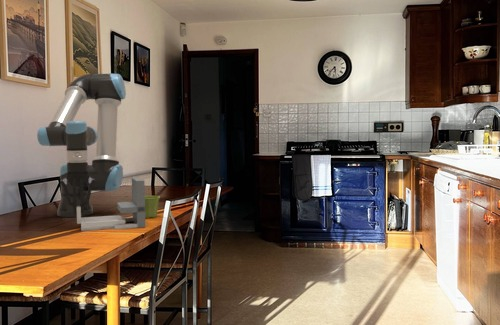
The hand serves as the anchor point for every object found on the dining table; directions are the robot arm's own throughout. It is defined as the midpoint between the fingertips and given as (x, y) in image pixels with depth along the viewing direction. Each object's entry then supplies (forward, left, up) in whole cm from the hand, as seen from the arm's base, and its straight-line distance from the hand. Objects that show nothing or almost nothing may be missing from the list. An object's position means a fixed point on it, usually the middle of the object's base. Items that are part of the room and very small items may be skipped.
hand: (79, 223), depth 191 cm
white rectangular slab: (0, +9, -2) cm, 9 cm away
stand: (0, +18, -2) cm, 18 cm away
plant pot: (-15, +29, -2) cm, 33 cm away
